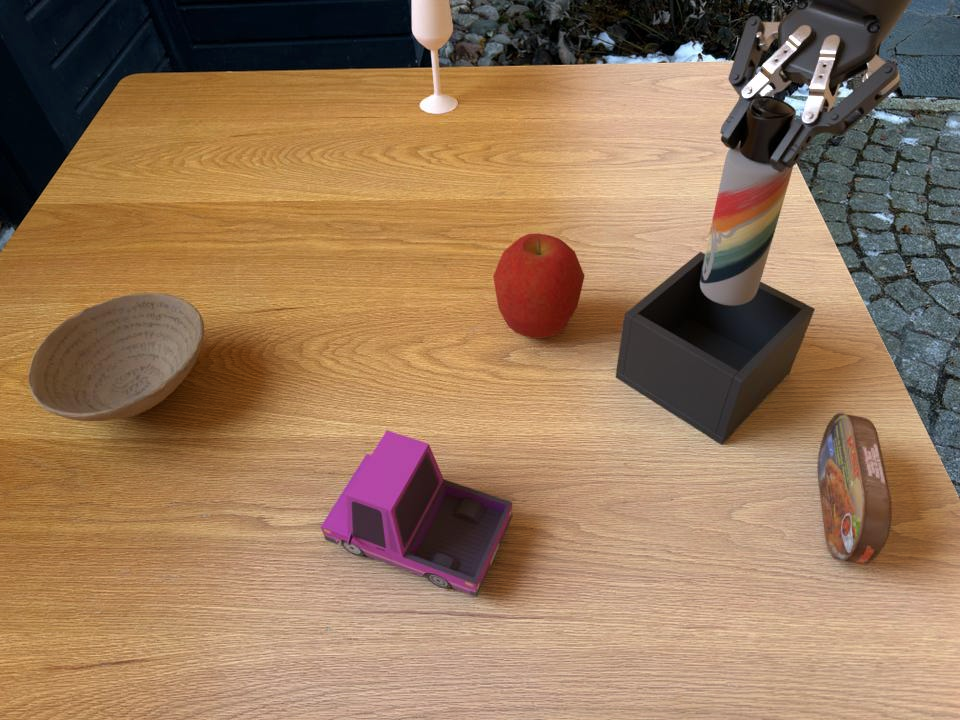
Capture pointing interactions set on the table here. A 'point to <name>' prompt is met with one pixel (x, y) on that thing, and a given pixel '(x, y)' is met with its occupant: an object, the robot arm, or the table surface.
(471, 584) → the toy truck
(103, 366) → the bowl
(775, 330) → the bin
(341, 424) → the table surface
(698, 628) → the table surface
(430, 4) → the champagne flute
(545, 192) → the table surface
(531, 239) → the apple
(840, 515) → the tin
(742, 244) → the lotion bottle
